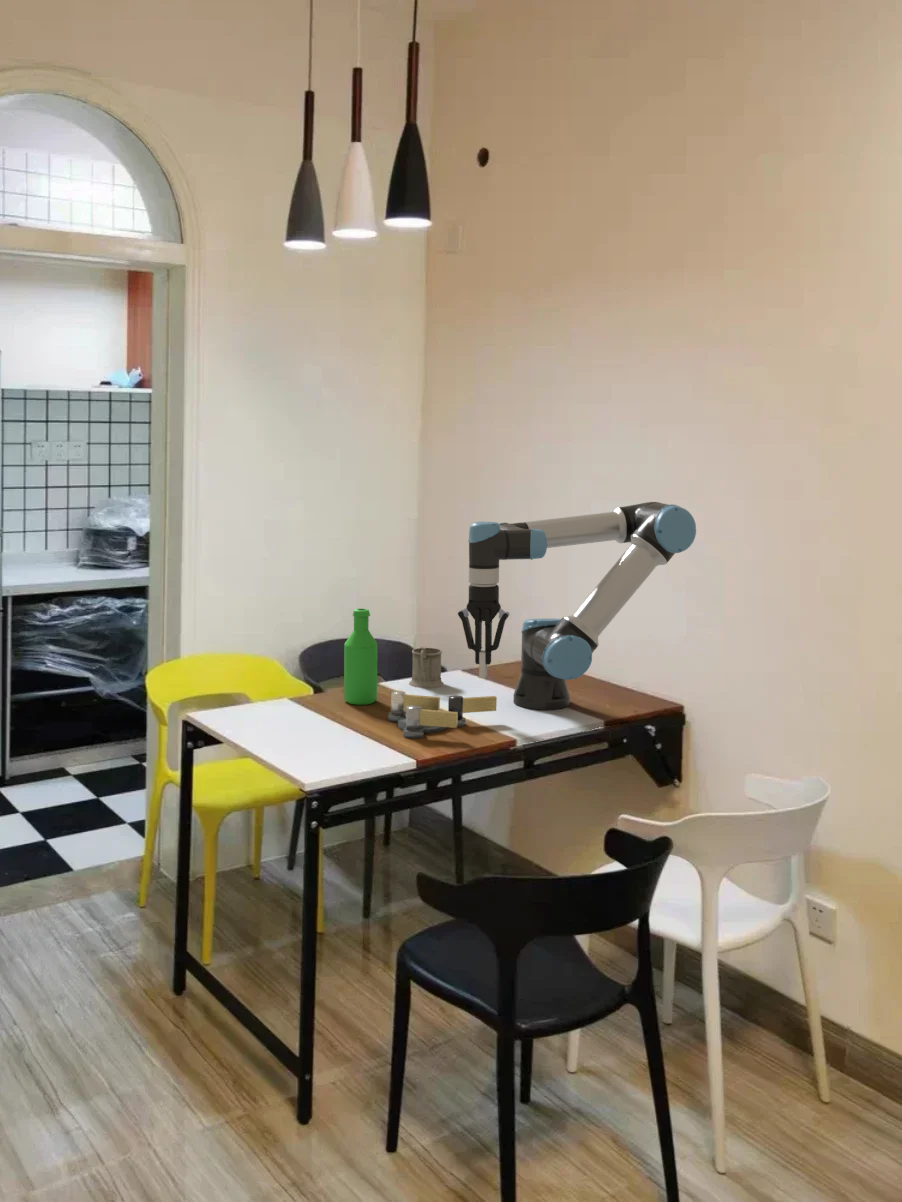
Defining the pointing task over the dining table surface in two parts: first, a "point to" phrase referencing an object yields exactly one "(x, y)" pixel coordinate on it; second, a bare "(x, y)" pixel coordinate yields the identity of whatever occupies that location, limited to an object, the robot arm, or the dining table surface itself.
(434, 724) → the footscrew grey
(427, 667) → the mug
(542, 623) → the robot arm
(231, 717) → the dining table surface
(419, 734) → the tribrach plate
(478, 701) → the black and tan lever
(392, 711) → the lever
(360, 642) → the bottle
